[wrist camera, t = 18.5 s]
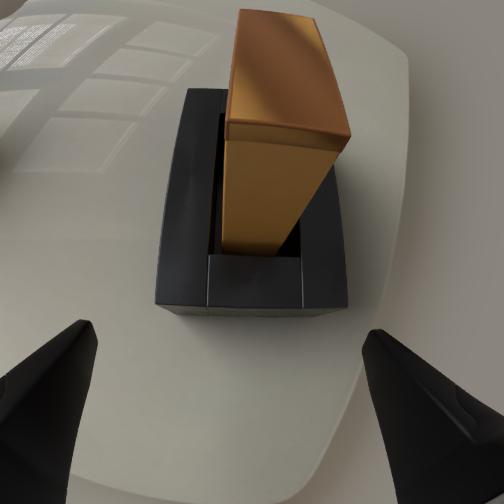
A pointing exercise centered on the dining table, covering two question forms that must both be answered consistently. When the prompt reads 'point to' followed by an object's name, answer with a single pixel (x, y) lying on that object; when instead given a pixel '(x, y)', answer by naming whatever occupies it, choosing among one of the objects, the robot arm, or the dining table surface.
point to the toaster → (210, 236)
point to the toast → (277, 129)
